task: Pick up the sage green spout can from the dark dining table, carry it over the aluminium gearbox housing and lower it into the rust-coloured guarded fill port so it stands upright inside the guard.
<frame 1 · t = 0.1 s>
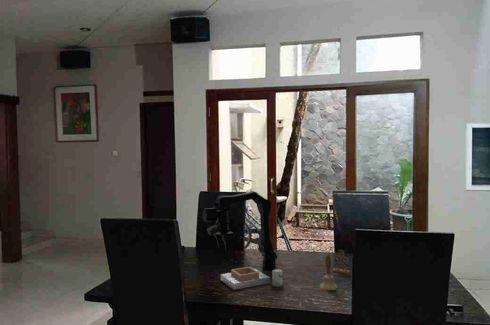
hand: (223, 249, 214), 15 cm above the table, tool pointing down, fingers open, 9 cm apart
gearbox housing: (245, 281, 206), on the table
spout can: (277, 284, 201), on the table
hand bell: (328, 287, 197), on the table
gingerbread man figurine: (340, 272, 220), on the table
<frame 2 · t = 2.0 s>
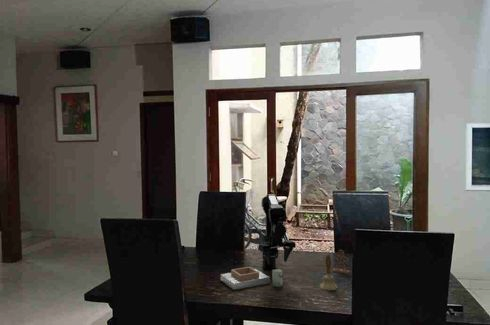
hand: (277, 263, 201), 11 cm above the table, tool pointing down, fingers open, 9 cm apart
nothing on the table moved.
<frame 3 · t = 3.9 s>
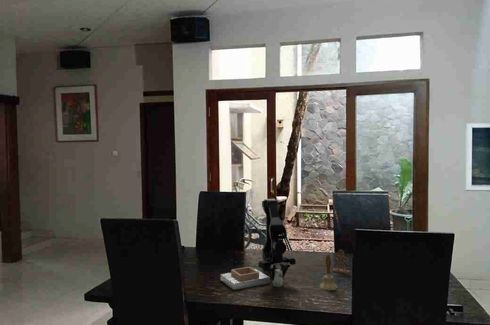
hand: (277, 279, 201), 3 cm above the table, tool pointing down, fingers closed on spout can, 5 cm apart
spout can: (277, 284, 201), on the table, touching gripper
everything else where it was.
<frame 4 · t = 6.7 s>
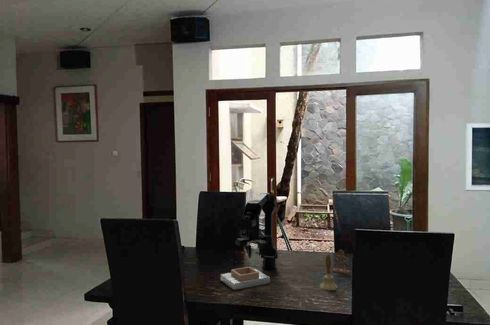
hand: (254, 257, 204), 13 cm above the table, tool pointing down, fingers closed on spout can, 5 cm apart
spout can: (254, 262, 204), point 10 cm above the table, touching gripper
everything else where it was.
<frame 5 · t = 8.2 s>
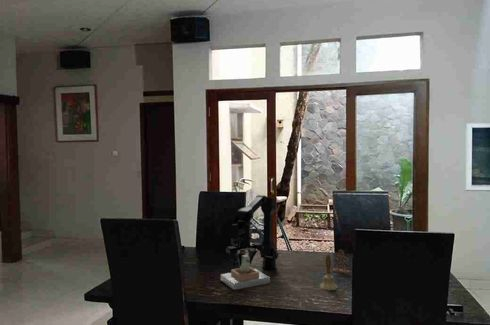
hand: (244, 265, 206), 8 cm above the table, tool pointing down, fingers closed on spout can, 5 cm apart
spout can: (245, 270, 206), point 6 cm above the table, touching gripper
everything else where it was.
when the fingers open (6 cm above the table, at t = 9.5 s): spout can stays where it is, resting on gearbox housing.
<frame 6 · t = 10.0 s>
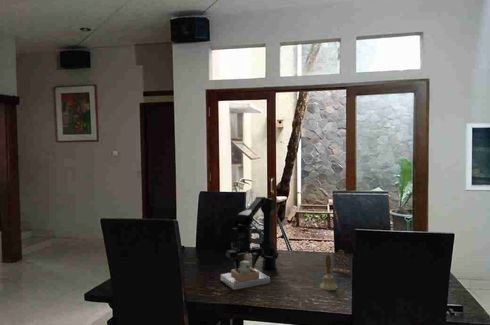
hand: (244, 269, 206), 6 cm above the table, tool pointing down, fingers open, 9 cm apart
spout can: (245, 275, 206), point 3 cm above the table, touching gearbox housing
everything else where it was.
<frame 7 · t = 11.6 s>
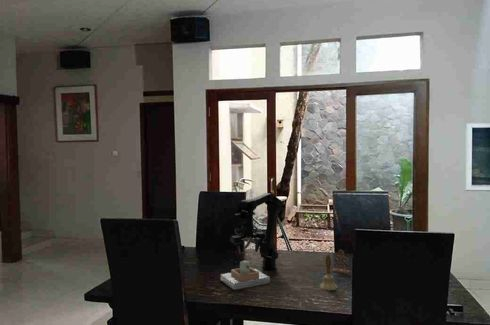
hand: (248, 253, 213), 13 cm above the table, tool pointing down, fingers open, 9 cm apart
nothing on the table moved.
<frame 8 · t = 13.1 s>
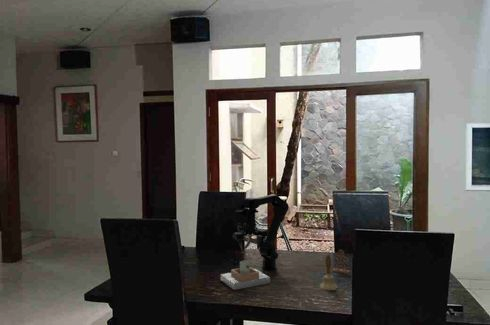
hand: (250, 250, 217), 13 cm above the table, tool pointing down, fingers open, 9 cm apart
nothing on the table moved.
at the end: spout can 0.1 cm off-centre on the gearbox housing, point 3.0 cm above the gearbox housing's base; spout can tilted 1°; the gripper is holding nothing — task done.
